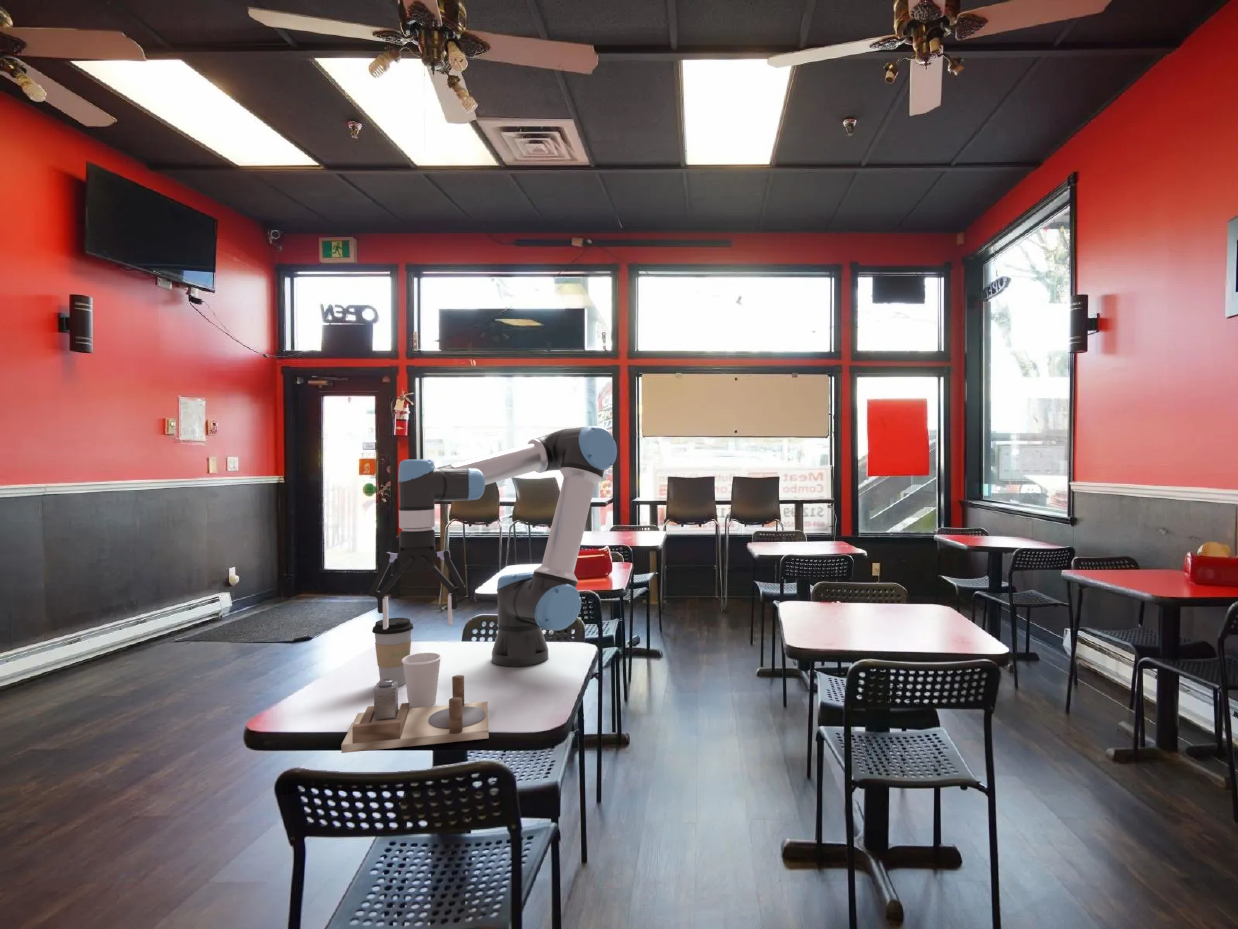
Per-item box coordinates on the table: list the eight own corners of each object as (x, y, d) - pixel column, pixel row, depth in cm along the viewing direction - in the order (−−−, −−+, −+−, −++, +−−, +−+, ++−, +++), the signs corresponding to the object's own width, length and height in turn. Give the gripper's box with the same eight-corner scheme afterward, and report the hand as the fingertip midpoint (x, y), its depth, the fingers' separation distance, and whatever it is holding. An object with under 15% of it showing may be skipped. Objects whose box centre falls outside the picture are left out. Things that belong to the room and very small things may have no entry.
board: (487, 708, 137) (487, 672, 137) (488, 738, 121) (488, 698, 121) (358, 720, 131) (357, 683, 132) (341, 753, 115) (340, 711, 116)
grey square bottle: (398, 710, 132) (397, 677, 132) (395, 717, 128) (395, 683, 128) (377, 712, 131) (377, 678, 131) (374, 719, 127) (373, 685, 127)
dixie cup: (404, 713, 135) (404, 665, 135) (400, 700, 143) (399, 655, 143) (445, 706, 139) (444, 659, 139) (438, 694, 146) (437, 650, 146)
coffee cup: (401, 691, 149) (400, 626, 149) (364, 689, 151) (363, 625, 151) (421, 678, 158) (420, 617, 159) (386, 676, 160) (386, 616, 160)
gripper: (475, 526, 148) (476, 618, 147) (360, 529, 143) (361, 625, 142) (474, 528, 140) (476, 626, 140) (353, 532, 135) (354, 633, 135)
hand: (418, 626), depth 141 cm, fingers open, 13 cm apart
